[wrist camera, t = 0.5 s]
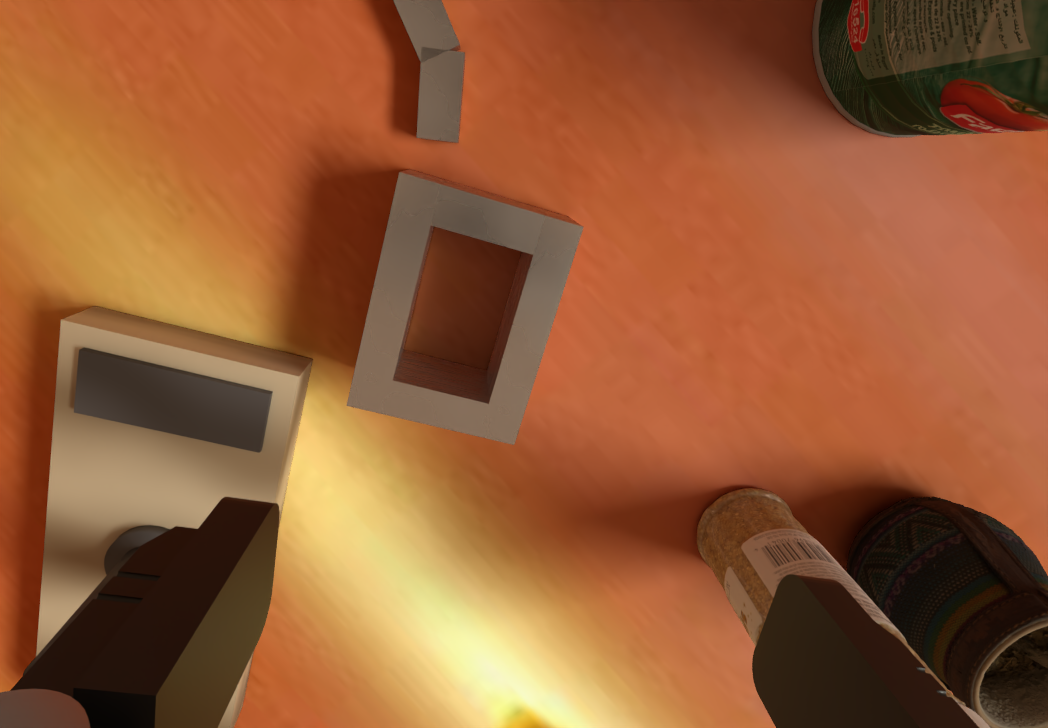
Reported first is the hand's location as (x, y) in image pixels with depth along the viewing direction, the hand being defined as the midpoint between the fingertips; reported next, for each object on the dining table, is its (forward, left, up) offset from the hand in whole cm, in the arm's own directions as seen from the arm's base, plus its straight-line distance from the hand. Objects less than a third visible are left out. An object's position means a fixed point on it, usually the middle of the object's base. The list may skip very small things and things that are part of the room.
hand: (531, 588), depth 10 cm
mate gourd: (+5, +21, -16) cm, 27 cm away
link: (-1, -2, -16) cm, 16 cm away
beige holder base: (+12, -11, -16) cm, 22 cm away
